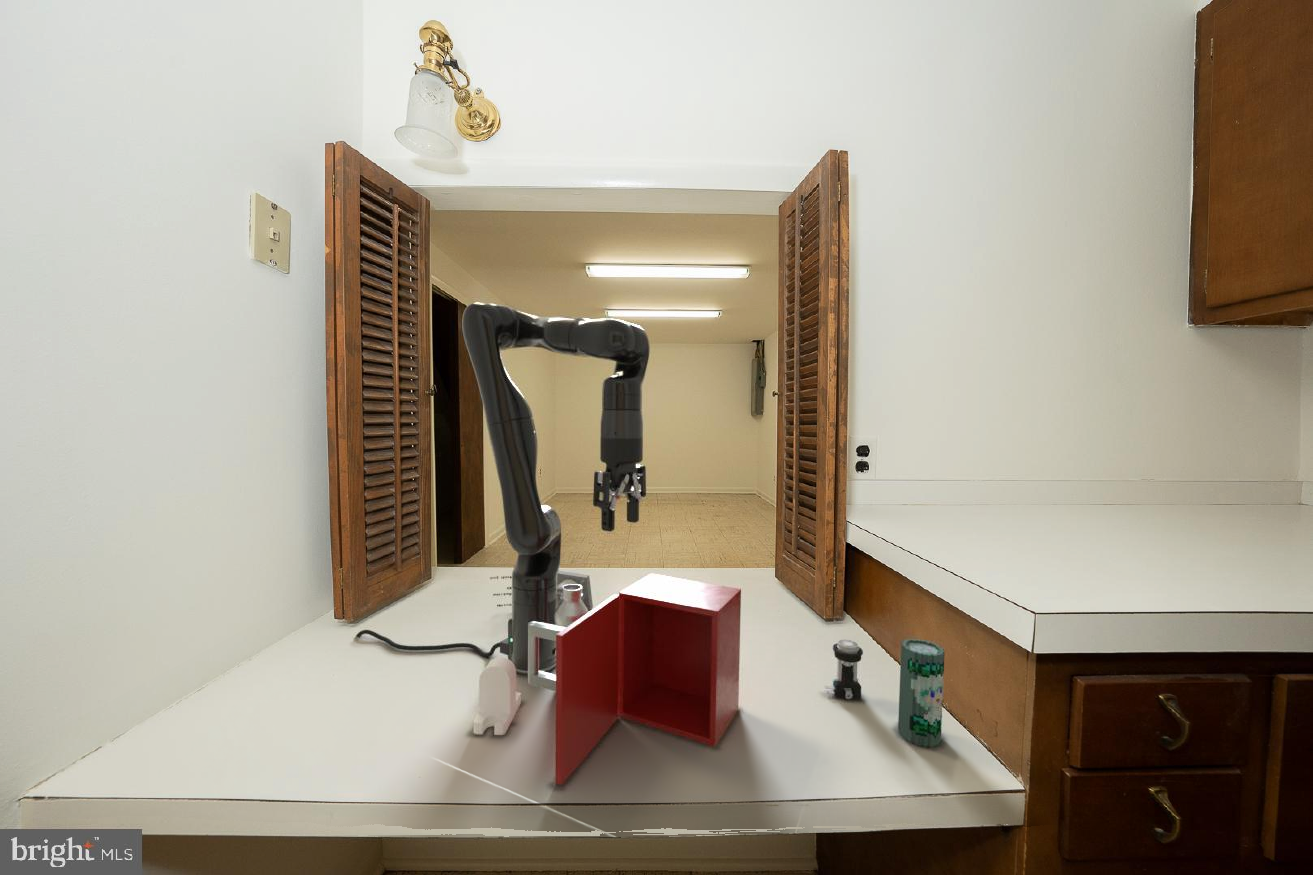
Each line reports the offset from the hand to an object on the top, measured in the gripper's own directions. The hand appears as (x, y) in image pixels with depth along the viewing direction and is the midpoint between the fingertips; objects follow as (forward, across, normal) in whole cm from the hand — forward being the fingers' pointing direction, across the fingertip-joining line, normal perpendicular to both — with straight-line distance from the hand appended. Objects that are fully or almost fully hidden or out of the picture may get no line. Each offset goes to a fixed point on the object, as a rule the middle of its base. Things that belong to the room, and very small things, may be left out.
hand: (620, 526), depth 95 cm
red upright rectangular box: (+33, +3, -11) cm, 35 cm away
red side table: (+32, -13, +1) cm, 35 cm away
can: (+33, +16, -49) cm, 61 cm away
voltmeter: (+33, +28, +40) cm, 59 cm away
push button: (+33, +23, -36) cm, 54 cm away
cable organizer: (+33, -14, +16) cm, 39 cm away
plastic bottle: (+33, -1, +10) cm, 34 cm away
